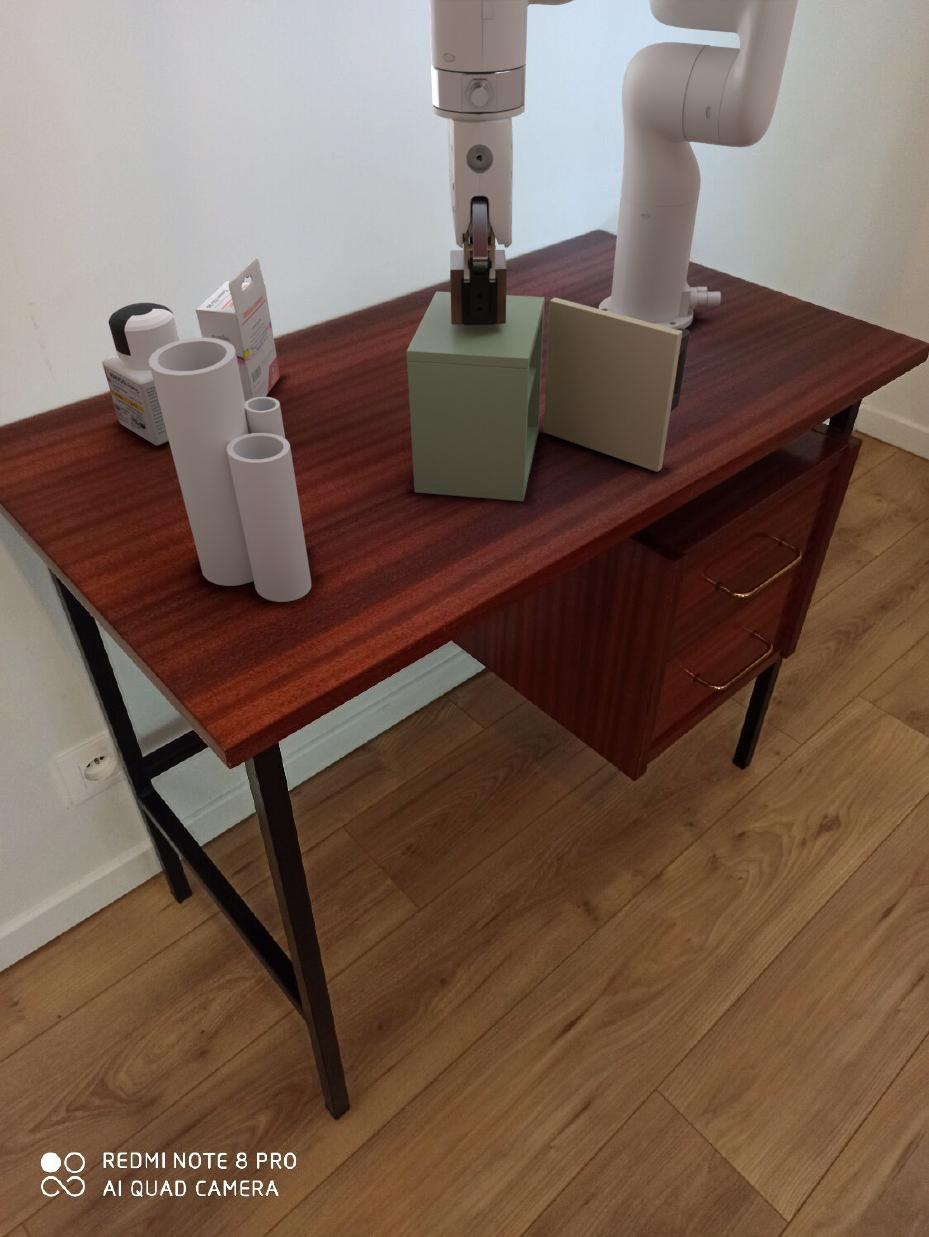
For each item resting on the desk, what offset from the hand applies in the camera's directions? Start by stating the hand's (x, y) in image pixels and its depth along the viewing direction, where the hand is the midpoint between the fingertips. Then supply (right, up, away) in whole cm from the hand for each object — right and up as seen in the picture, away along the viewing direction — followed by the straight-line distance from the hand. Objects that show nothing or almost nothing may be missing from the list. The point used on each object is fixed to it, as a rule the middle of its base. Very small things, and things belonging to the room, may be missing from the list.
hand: (478, 309), depth 85 cm
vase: (-20, -25, -3) cm, 32 cm away
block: (0, 0, 0) cm, 0 cm away
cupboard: (0, -12, +11) cm, 16 cm away
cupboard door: (+15, -9, +14) cm, 22 cm away
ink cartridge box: (-27, -2, +23) cm, 36 cm away
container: (-35, -7, +18) cm, 40 cm away
